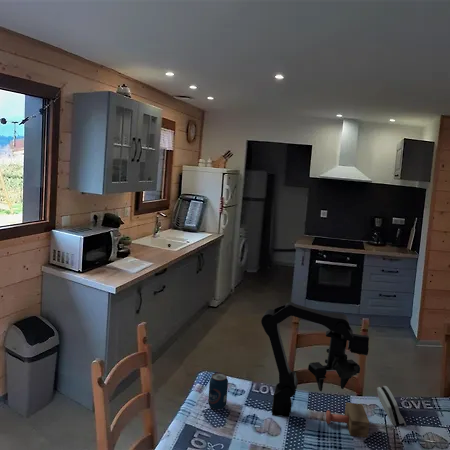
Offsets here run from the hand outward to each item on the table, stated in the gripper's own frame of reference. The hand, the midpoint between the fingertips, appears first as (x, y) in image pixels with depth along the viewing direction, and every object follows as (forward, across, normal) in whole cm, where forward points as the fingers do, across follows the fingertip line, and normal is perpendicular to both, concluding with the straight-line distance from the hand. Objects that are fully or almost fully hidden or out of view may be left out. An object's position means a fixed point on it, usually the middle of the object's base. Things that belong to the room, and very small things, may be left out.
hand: (331, 389), depth 161 cm
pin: (+12, +3, -3) cm, 13 cm away
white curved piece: (+12, +27, -1) cm, 30 cm away
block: (+12, +9, -6) cm, 16 cm away
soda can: (+14, -36, +19) cm, 43 cm away
